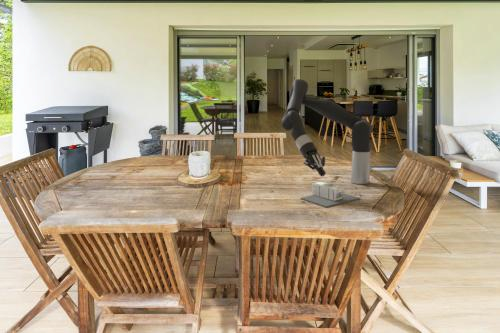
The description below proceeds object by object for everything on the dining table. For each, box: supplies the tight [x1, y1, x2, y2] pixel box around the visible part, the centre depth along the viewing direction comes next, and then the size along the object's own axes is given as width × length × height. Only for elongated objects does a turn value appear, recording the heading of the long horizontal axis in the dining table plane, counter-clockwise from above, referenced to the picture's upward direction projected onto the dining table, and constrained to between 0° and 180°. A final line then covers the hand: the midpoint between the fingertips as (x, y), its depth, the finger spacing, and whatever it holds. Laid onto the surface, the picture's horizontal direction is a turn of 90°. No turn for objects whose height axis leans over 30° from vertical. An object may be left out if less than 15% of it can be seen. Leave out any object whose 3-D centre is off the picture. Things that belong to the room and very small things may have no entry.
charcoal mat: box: [300, 192, 361, 208], centre depth 176 cm, size 22×16×1 cm
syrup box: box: [311, 181, 345, 201], centre depth 177 cm, size 6×6×14 cm
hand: (323, 175), depth 178 cm, fingers closed
